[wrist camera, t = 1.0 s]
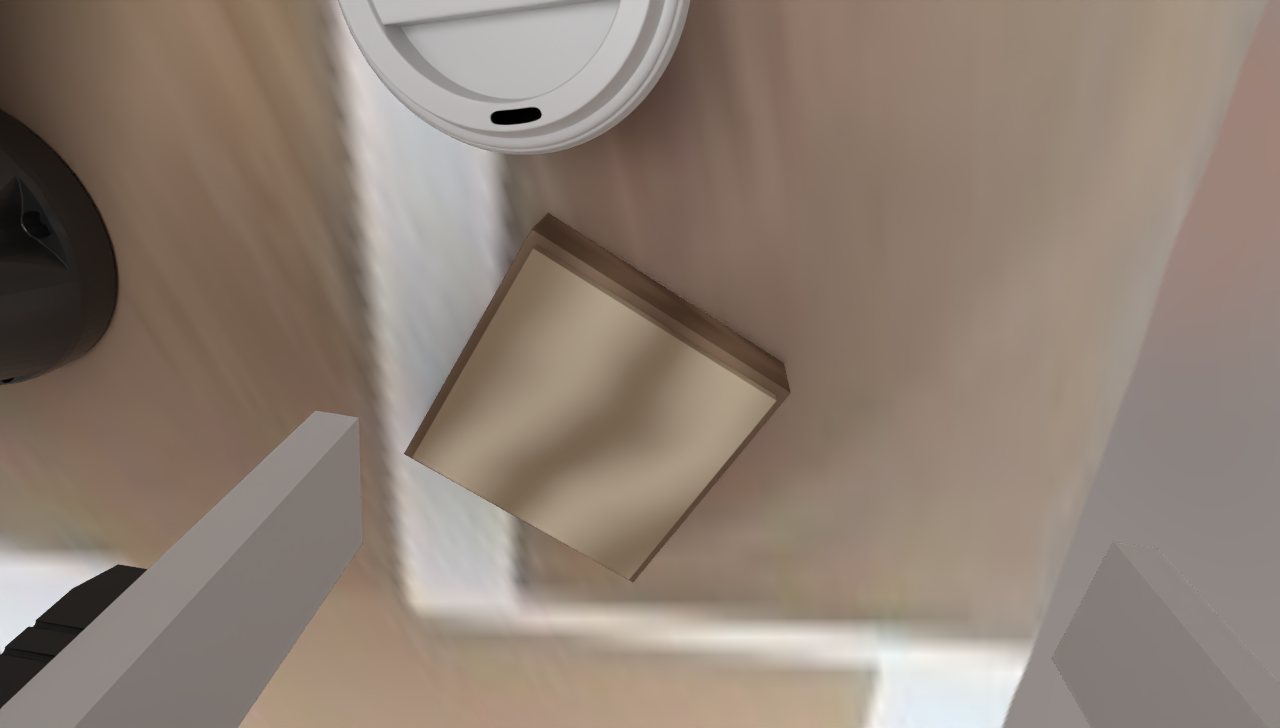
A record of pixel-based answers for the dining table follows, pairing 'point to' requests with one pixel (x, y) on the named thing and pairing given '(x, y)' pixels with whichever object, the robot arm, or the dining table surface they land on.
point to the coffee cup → (518, 64)
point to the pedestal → (596, 402)
